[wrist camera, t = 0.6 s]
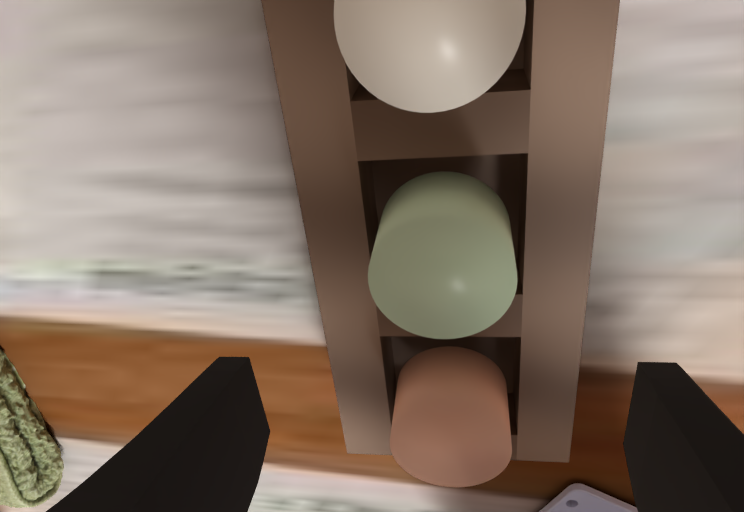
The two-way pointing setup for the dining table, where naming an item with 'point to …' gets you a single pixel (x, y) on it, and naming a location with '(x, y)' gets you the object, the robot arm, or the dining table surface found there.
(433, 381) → the terracotta button
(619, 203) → the dining table surface
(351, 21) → the cream button
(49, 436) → the washcloth
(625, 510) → the robot arm
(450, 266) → the sage button
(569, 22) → the button panel
